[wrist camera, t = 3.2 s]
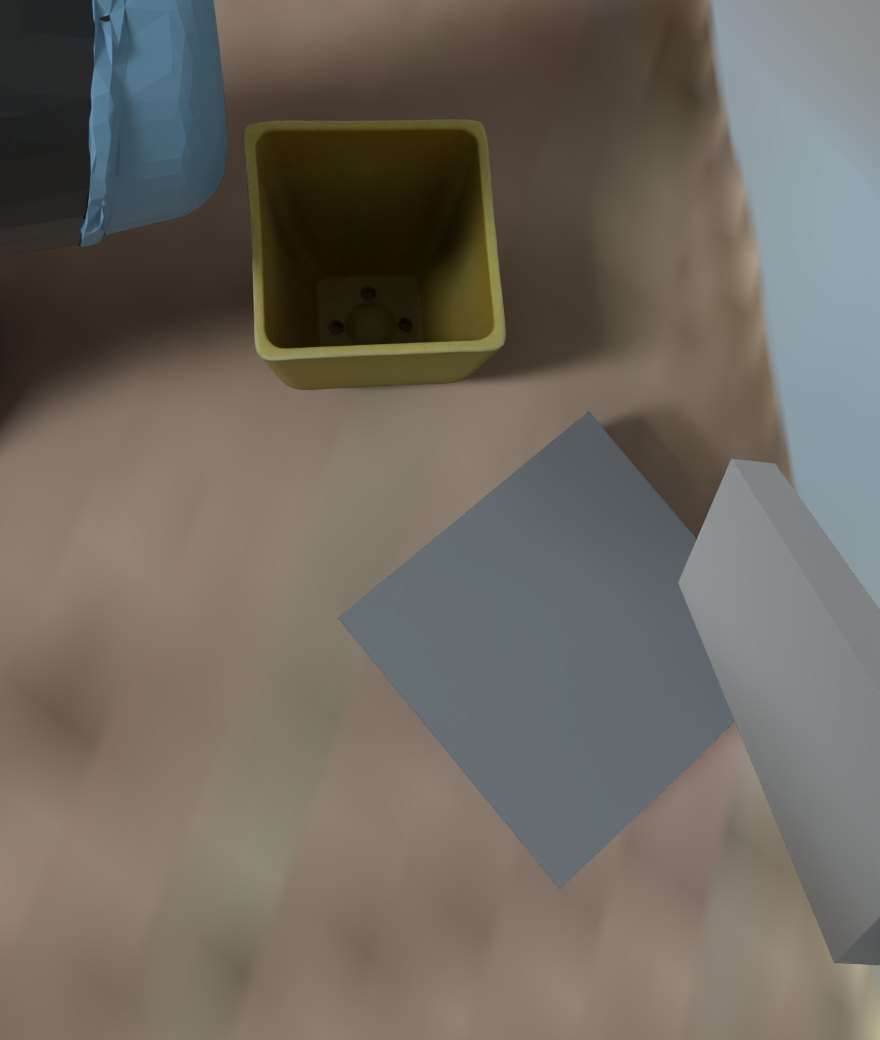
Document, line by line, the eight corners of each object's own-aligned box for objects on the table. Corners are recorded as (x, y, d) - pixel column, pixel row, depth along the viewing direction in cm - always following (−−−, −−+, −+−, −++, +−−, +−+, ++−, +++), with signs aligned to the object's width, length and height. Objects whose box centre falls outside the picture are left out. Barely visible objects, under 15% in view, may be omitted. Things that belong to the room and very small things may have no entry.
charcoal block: (529, 848, 32) (559, 889, 27) (341, 618, 33) (338, 618, 28) (736, 653, 34) (798, 659, 29) (556, 440, 35) (588, 411, 30)
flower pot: (471, 417, 35) (509, 348, 26) (283, 428, 34) (254, 359, 25) (455, 242, 36) (486, 117, 27) (272, 247, 35) (241, 119, 26)
